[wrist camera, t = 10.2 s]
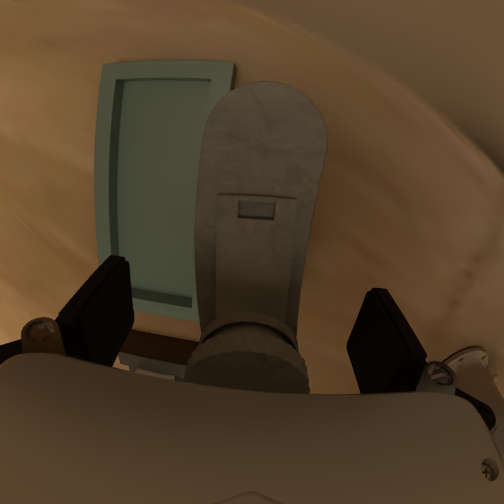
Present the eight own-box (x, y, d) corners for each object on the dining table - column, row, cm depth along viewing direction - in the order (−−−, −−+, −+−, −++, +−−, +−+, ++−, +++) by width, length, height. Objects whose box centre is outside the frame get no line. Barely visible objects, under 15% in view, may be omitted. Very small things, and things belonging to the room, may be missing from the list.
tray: (236, 68, 21) (233, 62, 19) (210, 308, 30) (206, 323, 28) (116, 68, 21) (103, 64, 18) (113, 291, 30) (104, 303, 28)
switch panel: (282, 352, 33) (284, 378, 29) (269, 399, 36) (269, 422, 33) (129, 329, 32) (117, 351, 28) (137, 378, 36) (129, 399, 32)
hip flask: (283, 284, 29) (301, 488, 11) (241, 284, 29) (216, 487, 11) (282, 111, 22) (355, 63, 4) (232, 113, 23) (126, 76, 4)
